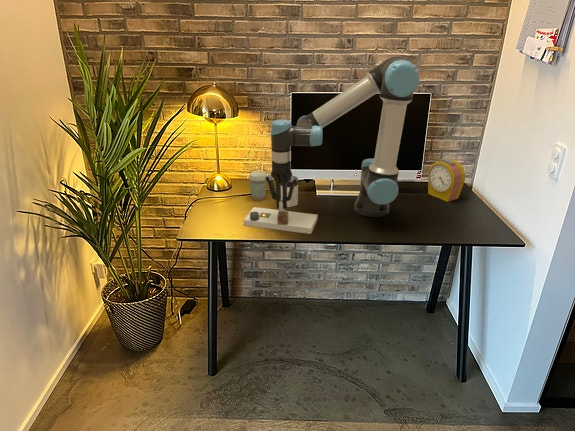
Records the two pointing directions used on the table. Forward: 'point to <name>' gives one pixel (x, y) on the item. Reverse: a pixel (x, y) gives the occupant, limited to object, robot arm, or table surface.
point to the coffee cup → (258, 185)
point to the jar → (294, 197)
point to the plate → (295, 224)
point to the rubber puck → (254, 216)
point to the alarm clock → (446, 179)
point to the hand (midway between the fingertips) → (281, 215)
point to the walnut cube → (282, 218)
